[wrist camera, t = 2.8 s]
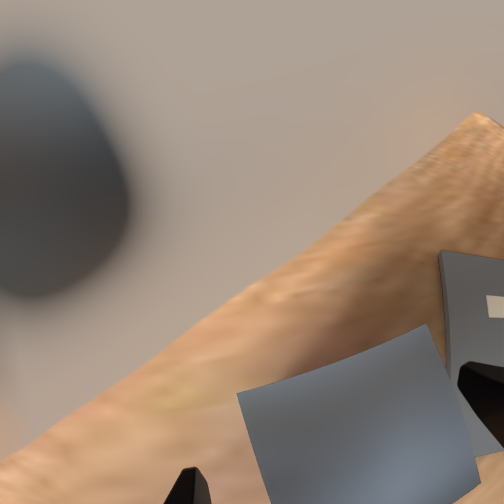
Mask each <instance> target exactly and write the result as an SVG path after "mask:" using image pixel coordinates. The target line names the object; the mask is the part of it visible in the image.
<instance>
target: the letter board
mask: <svg viewBox="0 0 504 504" xmlns="http://www.w3.org/2000/svg"><path fill="white" fill-rule="evenodd" d="M438 259H439V266H440V273H441V282H442V291H443V302H444V314H445V332H446V371H447V373H448V376H449V379H450V381H451V384H452V387H453V389H454V392H455V395H456V398H457V401H458V403H459V406H460V409H461V412H462V415H463V418H464V422H465V425H466V428H467V431H468V435H469V438H470V441H471V445H472V449H473V452H474V456H475V457H479V456H484V455H488V454H492V453H496V452H500V451H504V448H503V447H502V446H501V445H500V443H499V442H498V441H497V440H496V439H495V437H494V436H493V435H492V434H491V433H490V431H489V430H488V429H487V428H486V427H485V425H484V424H483V423H482V422H481V421H480V419H479V418H478V417H477V415H476V414H475V413H474V411H473V410H472V408H471V407H470V405H469V404H468V402H467V401H466V399H465V398H464V396H463V395H462V393H461V392H460V390H459V389H458V386H457V381H458V375H459V369H460V367H461V366H462V365H463V364H465V363H466V362H468V361H474V362H479V363H484V364H490V365H495V366H501V367H504V260H501V259H495V258H488V257H482V256H476V255H469V254H463V253H456V252H449V251H443V250H441V251H440V253H439V254H438Z"/></svg>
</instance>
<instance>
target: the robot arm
mask: <svg viewBox="0 0 504 504" xmlns="http://www.w3.org/2000/svg"><path fill="white" fill-rule="evenodd" d="M457 386H458V389H459V390H460V392H461V393H462V395H463V396H464V398H465V399H466V401H467V402H468V404H469V405H470V407H471V408H472V410H473V411H474V413H475V414H476V415H477V417H478V418H479V419H480V421H481V422H482V423H483V424H484V425H485V427H486V428H487V429H488V430H489V431H490V433H491V434H492V435H493V436H494V437H495V439H496V440H497V441H498V442H499V443H500V445H501V446H502V447H503V448H504V367H501V366H495V365H490V364H484V363H479V362H474V361H468V362H466V363H465V364H463V365H462V366H461V367H460V369H459V375H458V381H457ZM164 504H212V503H211V498H210V493H209V488H208V484H207V481H206V480H205V478H204V477H203V475H202V474H201V472H200V471H199V469H198V468H197V467H190V468H185V469H183V470H182V472H181V473H180V475H179V477H178V479H177V481H176V482H175V484H174V486H173V488H172V490H171V491H170V493H169V495H168V497H167V498H166V500H165V502H164Z"/></svg>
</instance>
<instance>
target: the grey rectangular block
mask: <svg viewBox="0 0 504 504" xmlns="http://www.w3.org/2000/svg"><path fill="white" fill-rule="evenodd" d="M237 397H238V400H239V404H240V407H241V411H242V414H243V417H244V421H245V424H246V427H247V431H248V434H249V437H250V440H251V444H252V447H253V450H254V453H255V456H256V460H257V463H258V466H259V469H260V472H261V475H262V478H263V481H264V484H265V487H266V490H267V493H268V496H269V499H270V502H271V504H453V503H454V502H456V501H457V500H458V499H460V498H461V497H463V496H464V495H466V494H467V493H468V492H470V491H471V490H472V489H474V488H475V487H476V486H478V485H479V484H480V483H481V481H480V476H479V472H478V468H477V464H476V460H475V456H474V452H473V449H472V445H471V441H470V438H469V435H468V431H467V428H466V425H465V422H464V418H463V415H462V412H461V409H460V406H459V403H458V401H457V398H456V395H455V392H454V389H453V387H452V384H451V381H450V379H449V376H448V373H447V371H446V368H445V366H444V363H443V361H442V358H441V356H440V353H439V351H438V349H437V346H436V344H435V342H434V339H433V337H432V335H431V333H430V330H429V328H428V326H427V324H424V325H422V326H420V327H418V328H416V329H413V330H411V331H409V332H407V333H405V334H403V335H401V336H398V337H396V338H394V339H392V340H389V341H387V342H385V343H383V344H380V345H378V346H375V347H373V348H371V349H368V350H366V351H363V352H361V353H358V354H356V355H353V356H351V357H348V358H346V359H343V360H340V361H338V362H335V363H332V364H330V365H327V366H324V367H321V368H318V369H315V370H313V371H310V372H307V373H304V374H301V375H298V376H295V377H291V378H288V379H285V380H282V381H279V382H275V383H272V384H269V385H265V386H262V387H258V388H255V389H251V390H247V391H243V392H240V393H237Z"/></svg>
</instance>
